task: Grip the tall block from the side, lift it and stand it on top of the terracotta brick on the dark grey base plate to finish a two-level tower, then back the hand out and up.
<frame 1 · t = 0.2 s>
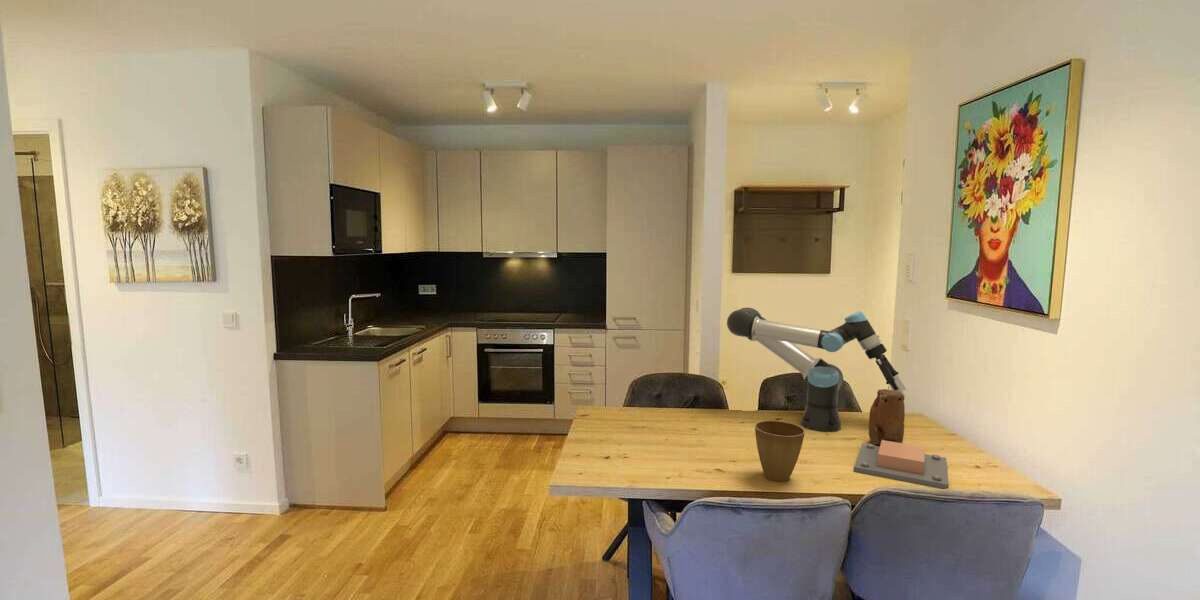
hand: (902, 393, 223), 15 cm above the table, tool tilted 35°, fingers open, 13 cm apart
tower base: (900, 466, 185), on the table
plant pot: (777, 477, 175), on the table
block: (885, 444, 207), on the table
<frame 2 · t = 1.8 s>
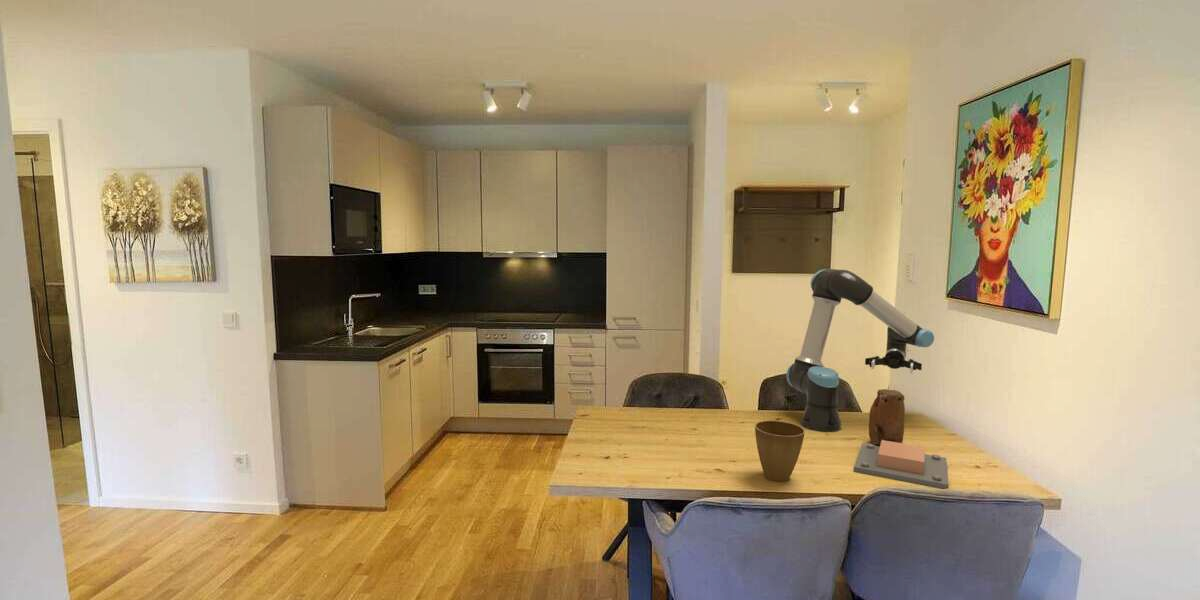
hand: (891, 367, 219), 26 cm above the table, tool horizontal, fingers open, 13 cm apart
nothing on the table moved.
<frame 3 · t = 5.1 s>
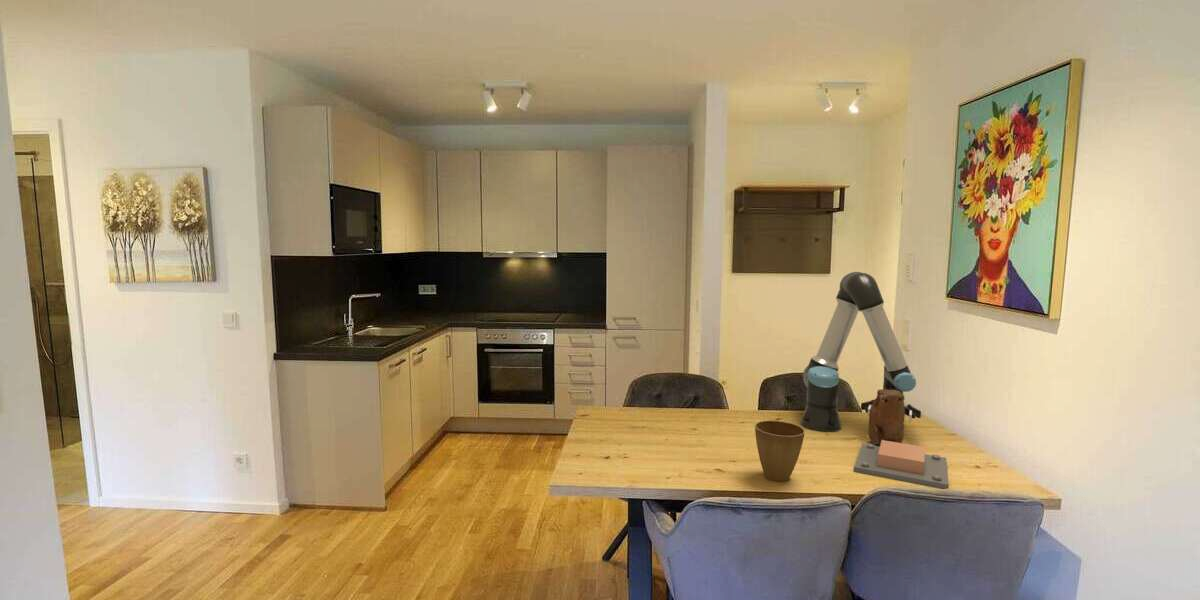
hand: (889, 415, 205), 11 cm above the table, tool horizontal, fingers open, 13 cm apart
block: (884, 444, 207), on the table, touching gripper
everything else where it was.
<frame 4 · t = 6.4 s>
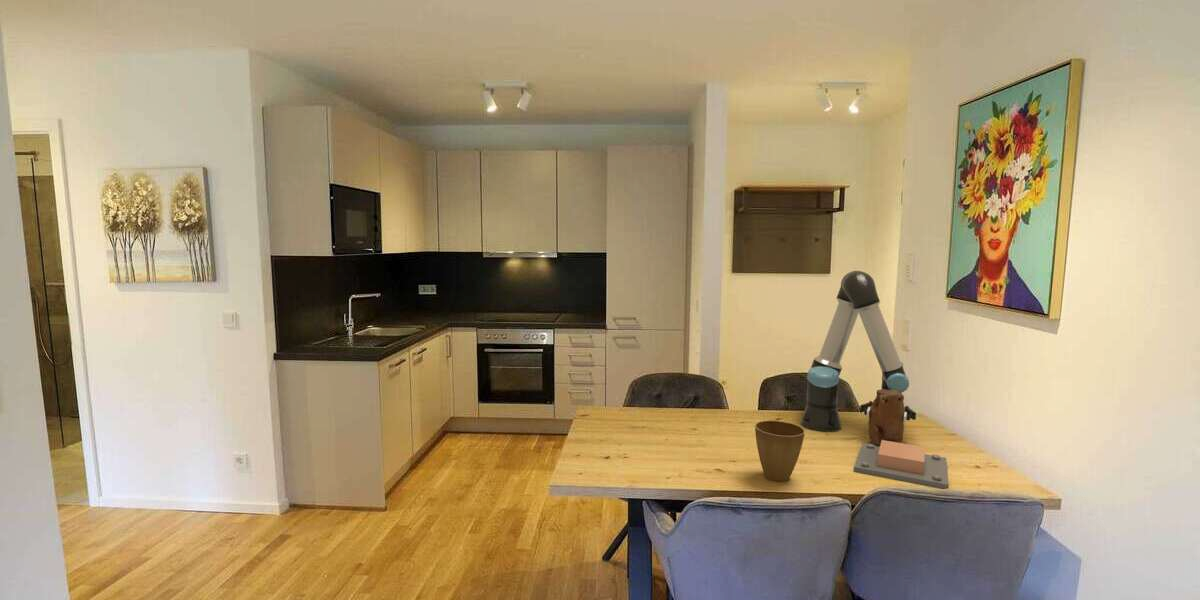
hand: (886, 417, 202), 11 cm above the table, tool horizontal, fingers closed on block, 11 cm apart
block: (884, 444, 207), on the table, touching gripper
everything else where it was.
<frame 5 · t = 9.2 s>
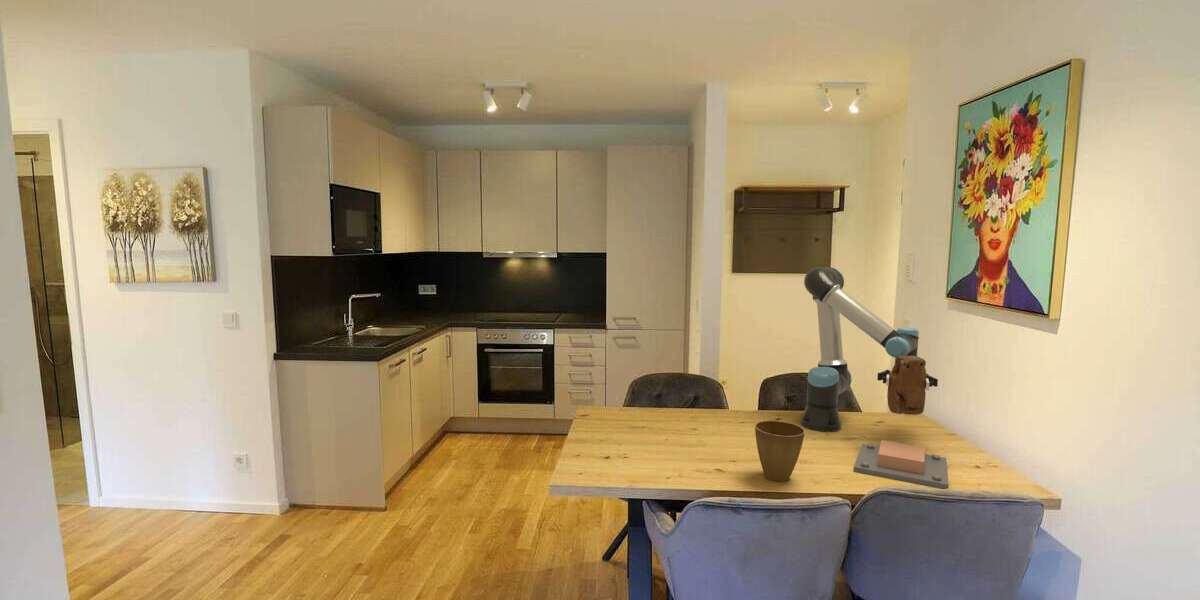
hand: (907, 384, 190), 26 cm above the table, tool horizontal, fingers closed on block, 11 cm apart
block: (904, 413, 195), point 15 cm above the table, touching gripper
everything else where it was.
when the fingers open (18 cm above the table, at t = 12.1 s): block drops 1 cm, resting on tower base.
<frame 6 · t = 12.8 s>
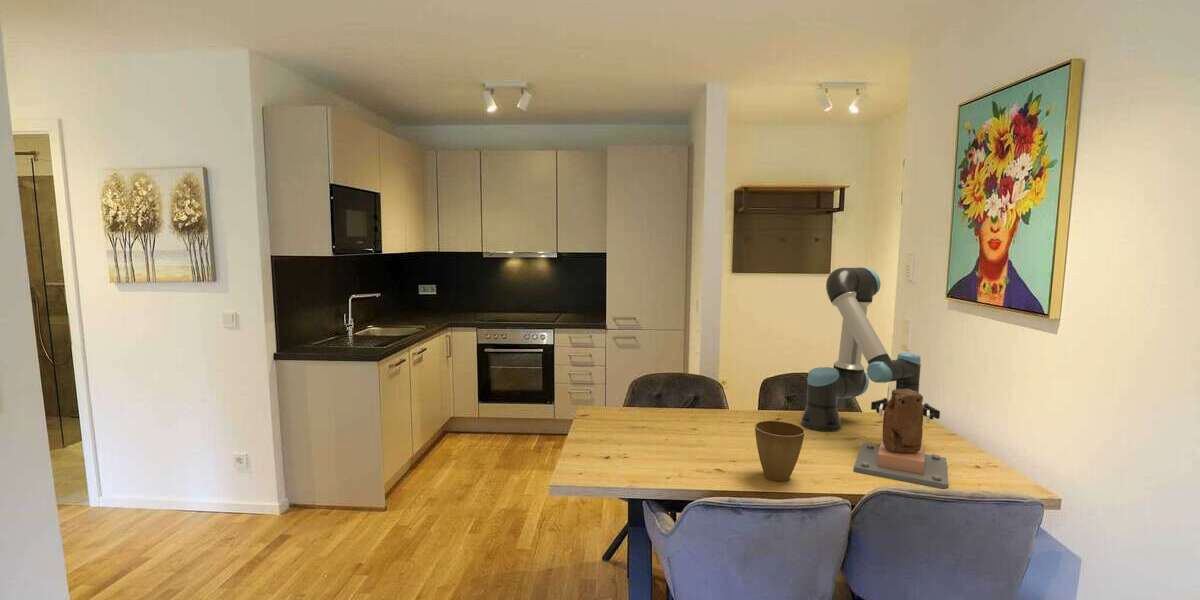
hand: (903, 415, 180), 18 cm above the table, tool horizontal, fingers open, 13 cm apart
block: (900, 450, 184), point 5 cm above the table, touching tower base
everything else where it was.
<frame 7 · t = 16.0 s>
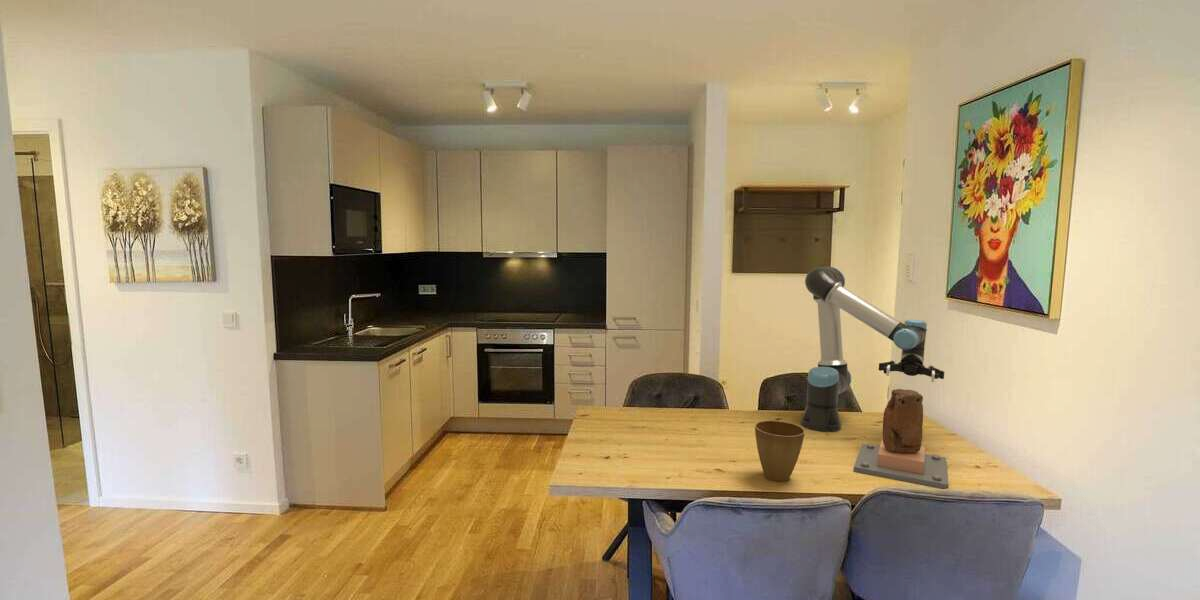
hand: (910, 375, 190), 29 cm above the table, tool horizontal, fingers open, 13 cm apart
nothing on the table moved.
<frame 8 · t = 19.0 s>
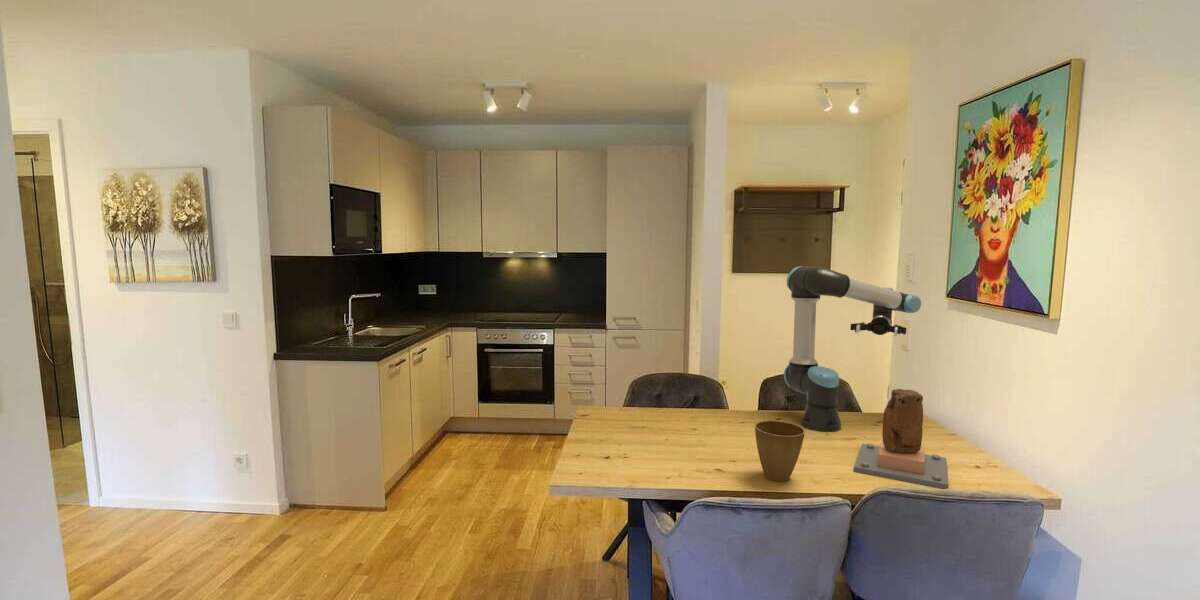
hand: (876, 331, 219), 40 cm above the table, tool horizontal, fingers open, 13 cm apart
nothing on the table moved.
at the end: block inside the target area on the tower base (0.3 cm from its centre), point 5.3 cm above the tower base's base; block tilted 0°; the gripper is holding nothing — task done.
